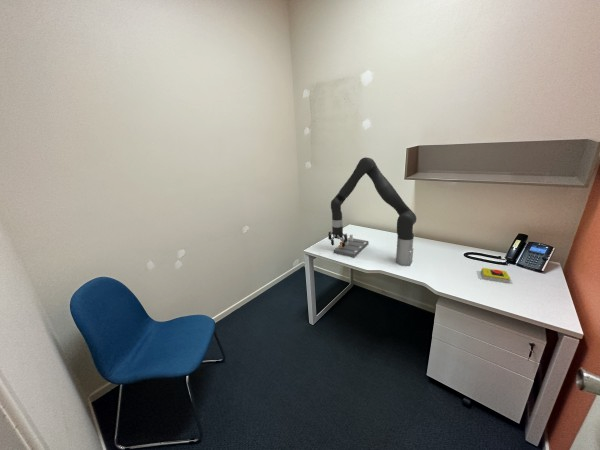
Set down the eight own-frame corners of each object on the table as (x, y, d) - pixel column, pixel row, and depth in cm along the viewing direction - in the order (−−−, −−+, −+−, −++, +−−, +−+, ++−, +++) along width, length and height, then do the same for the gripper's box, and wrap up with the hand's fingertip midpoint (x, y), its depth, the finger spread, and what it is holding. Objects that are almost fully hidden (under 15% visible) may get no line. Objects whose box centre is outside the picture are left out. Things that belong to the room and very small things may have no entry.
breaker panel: (368, 244, 191) (368, 235, 188) (354, 257, 171) (354, 248, 169) (349, 240, 200) (349, 231, 198) (333, 253, 180) (333, 243, 178)
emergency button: (514, 277, 130) (479, 272, 137) (512, 285, 131) (478, 279, 138) (510, 269, 138) (477, 264, 144) (508, 276, 139) (476, 271, 146)
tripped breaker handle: (343, 247, 181) (343, 242, 179) (342, 248, 180) (342, 242, 178) (340, 247, 182) (340, 241, 181) (339, 248, 181) (339, 242, 179)
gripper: (348, 224, 176) (349, 245, 181) (331, 222, 184) (331, 242, 189) (344, 228, 170) (344, 249, 175) (326, 225, 178) (326, 246, 184)
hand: (338, 246), depth 182 cm, fingers open, 8 cm apart
